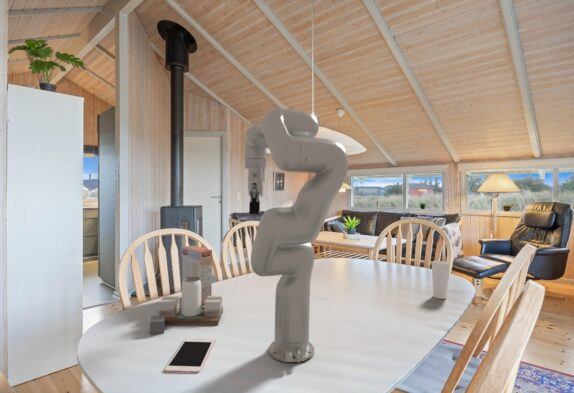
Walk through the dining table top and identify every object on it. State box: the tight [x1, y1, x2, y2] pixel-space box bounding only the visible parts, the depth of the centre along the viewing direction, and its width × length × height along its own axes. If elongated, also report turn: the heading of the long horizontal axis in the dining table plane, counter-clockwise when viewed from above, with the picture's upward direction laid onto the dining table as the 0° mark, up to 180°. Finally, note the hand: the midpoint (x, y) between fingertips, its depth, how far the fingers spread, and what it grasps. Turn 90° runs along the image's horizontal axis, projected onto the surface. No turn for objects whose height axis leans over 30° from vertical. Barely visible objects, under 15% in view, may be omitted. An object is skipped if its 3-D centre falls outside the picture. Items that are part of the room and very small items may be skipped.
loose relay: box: [149, 315, 166, 336], centre depth 106 cm, size 5×4×4 cm
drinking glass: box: [431, 260, 450, 300], centre depth 143 cm, size 7×7×15 cm
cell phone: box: [163, 336, 216, 374], centre depth 92 cm, size 9×18×1 cm, turn 0°
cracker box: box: [181, 245, 213, 306], centre depth 134 cm, size 14×6×21 cm, turn 43°
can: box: [181, 277, 202, 317], centre depth 116 cm, size 6×6×12 cm
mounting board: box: [158, 295, 224, 326], centre depth 116 cm, size 12×20×6 cm, turn 93°
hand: (254, 212), depth 120 cm, fingers open, 9 cm apart
